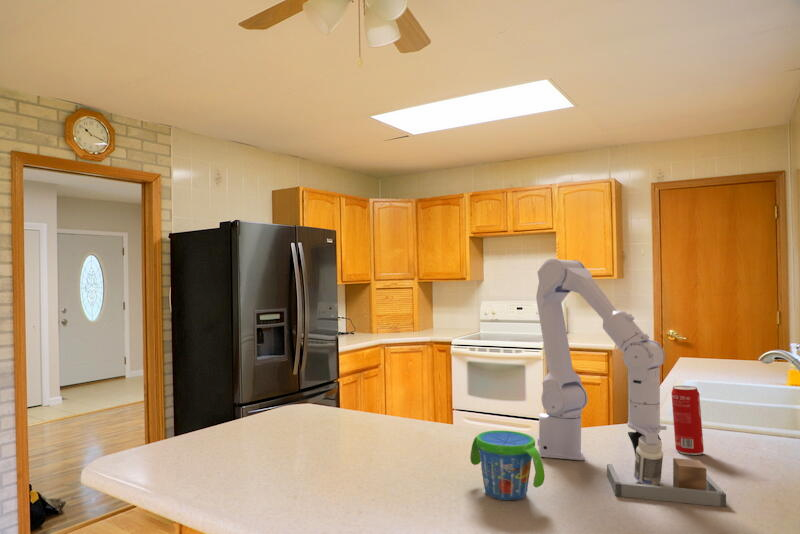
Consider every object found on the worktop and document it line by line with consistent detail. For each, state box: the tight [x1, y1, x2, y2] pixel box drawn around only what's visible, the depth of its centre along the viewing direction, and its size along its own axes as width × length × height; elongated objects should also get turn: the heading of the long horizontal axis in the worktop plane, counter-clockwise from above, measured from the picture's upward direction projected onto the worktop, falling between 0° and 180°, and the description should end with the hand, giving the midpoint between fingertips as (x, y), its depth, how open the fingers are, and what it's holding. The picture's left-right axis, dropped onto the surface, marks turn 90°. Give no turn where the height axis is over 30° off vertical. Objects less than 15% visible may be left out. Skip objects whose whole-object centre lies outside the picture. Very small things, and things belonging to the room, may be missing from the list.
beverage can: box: [671, 385, 705, 456], centre depth 124 cm, size 6×6×15 cm
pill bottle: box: [633, 435, 664, 486], centre depth 103 cm, size 5×5×8 cm
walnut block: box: [672, 457, 707, 490], centre depth 99 cm, size 4×4×6 cm
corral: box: [606, 463, 727, 508], centre depth 100 cm, size 18×11×2 cm, turn 76°
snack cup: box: [469, 430, 545, 501], centre depth 97 cm, size 16×10×10 cm
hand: (644, 470), depth 106 cm, fingers closed, pressing on pill bottle
